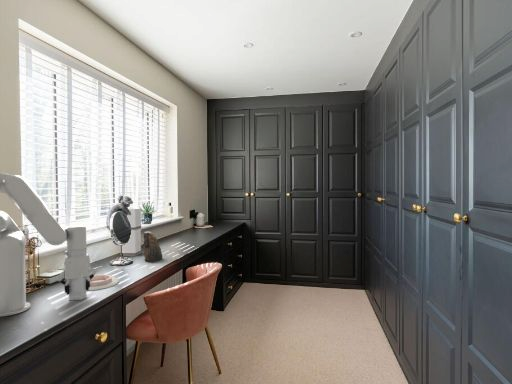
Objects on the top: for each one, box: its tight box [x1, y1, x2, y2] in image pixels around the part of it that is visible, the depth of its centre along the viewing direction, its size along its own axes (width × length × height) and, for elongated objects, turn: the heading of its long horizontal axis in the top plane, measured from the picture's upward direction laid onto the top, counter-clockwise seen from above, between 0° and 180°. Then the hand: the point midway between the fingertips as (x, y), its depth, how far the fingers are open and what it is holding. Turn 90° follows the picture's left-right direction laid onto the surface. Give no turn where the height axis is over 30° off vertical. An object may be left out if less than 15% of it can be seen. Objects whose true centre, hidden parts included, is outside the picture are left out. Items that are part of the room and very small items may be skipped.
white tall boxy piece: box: [122, 207, 142, 257], centre depth 227 cm, size 11×11×35 cm
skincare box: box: [68, 273, 88, 301], centre depth 136 cm, size 6×4×12 cm
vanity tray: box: [86, 274, 120, 292], centre depth 157 cm, size 20×20×3 cm
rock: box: [142, 230, 164, 263], centre depth 209 cm, size 13×13×20 cm
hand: (77, 291), depth 136 cm, fingers closed on skincare box, 7 cm apart
